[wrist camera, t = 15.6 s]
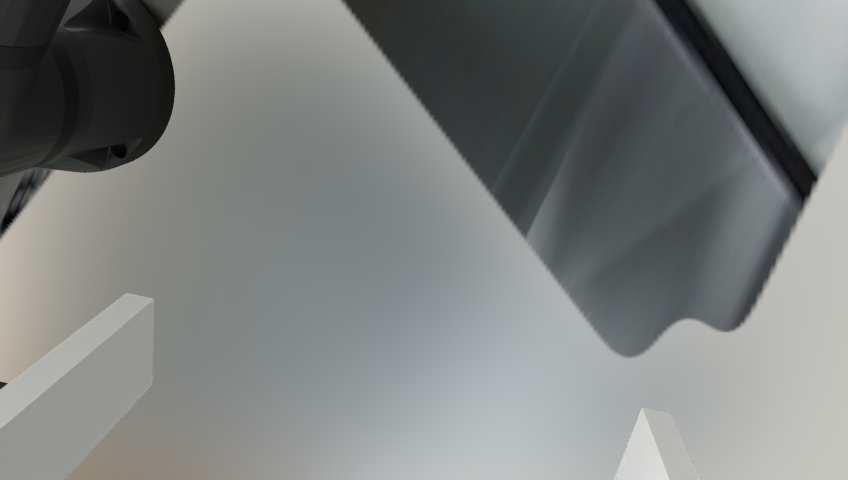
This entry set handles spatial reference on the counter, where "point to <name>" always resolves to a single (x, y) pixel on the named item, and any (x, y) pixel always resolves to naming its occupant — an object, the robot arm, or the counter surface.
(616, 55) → the counter surface
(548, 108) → the counter surface
